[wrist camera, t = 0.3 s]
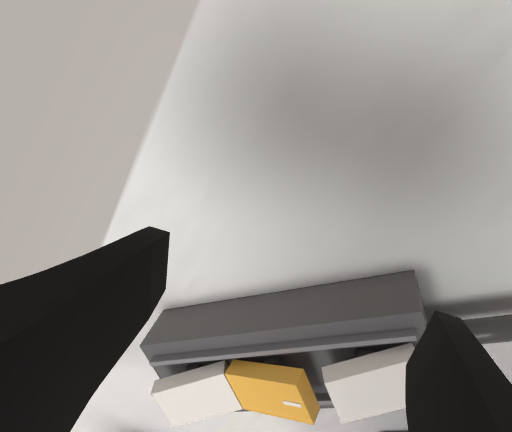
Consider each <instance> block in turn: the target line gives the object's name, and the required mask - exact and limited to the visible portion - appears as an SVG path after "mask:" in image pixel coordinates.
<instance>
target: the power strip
mask: <svg viewBox="0 0 512 432" xmlns="http://www.w3.org/2000/svg"><path fill="white" fill-rule="evenodd" d="M462 321H463V322H464V323H465V324H466V325H467V327H468V328H469V329H470V330H471V332H472V333H473V334H474V336H475V337H476V338H477V340H478V341H479V342H480V344H488V343H499V342H510V341H512V315H504V316H494V317H485V318H476V319H467V320H462ZM427 325H428V321H427V318H426V314H425V310H424V306H423V302H422V298H421V295H420V291H419V287H418V283H417V279H416V276H415V272H414V270H413V271H407V272H401V273H395V274H388V275H382V276H376V277H370V278H363V279H357V280H351V281H345V282H338V283H332V284H326V285H320V286H313V287H307V288H301V289H295V290H288V291H282V292H276V293H270V294H263V295H257V296H251V297H245V298H238V299H232V300H226V301H220V302H213V303H207V304H201V305H195V306H188V307H182V308H176V309H170V310H163V311H162V313H161V314H160V316H159V317H158V319H157V320H156V322H155V323H154V325H153V326H152V328H151V329H150V331H149V332H148V334H147V335H146V337H145V338H144V340H143V342H142V343H141V345H140V348H141V349H142V351H143V352H144V354H145V356H146V357H147V359H148V360H149V363H150V365H151V366H152V367H153V368H154V370H155V371H156V373H157V375H158V376H159V378H160V379H162V378H165V377H169V376H172V375H176V374H179V373H183V372H186V371H189V370H193V369H196V368H200V367H203V366H207V365H210V364H214V363H217V362H220V361H224V360H225V361H226V363H227V365H228V367H229V365H230V364H231V362H232V361H233V359H234V360H242V361H249V362H257V363H264V364H272V365H279V366H286V367H294V368H301V369H304V371H305V374H306V376H307V378H308V381H309V383H310V385H311V387H312V390H313V392H314V394H315V397H316V399H317V401H318V403H319V406H320V408H334V405H333V403H332V400H331V398H330V396H329V393H328V391H327V388H326V386H325V384H324V378H323V373H322V368H321V367H325V366H328V365H332V364H335V363H339V362H343V361H346V360H350V359H354V358H357V357H361V356H364V355H368V354H372V353H375V352H379V351H382V350H386V349H390V348H393V347H397V346H401V345H404V344H408V343H411V342H412V344H413V346H414V348H415V347H416V345H417V344H418V342H419V340H420V338H421V336H422V334H423V333H424V331H425V329H426V327H427ZM239 411H250V410H245V409H241V410H238V411H234V412H239Z"/></svg>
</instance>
